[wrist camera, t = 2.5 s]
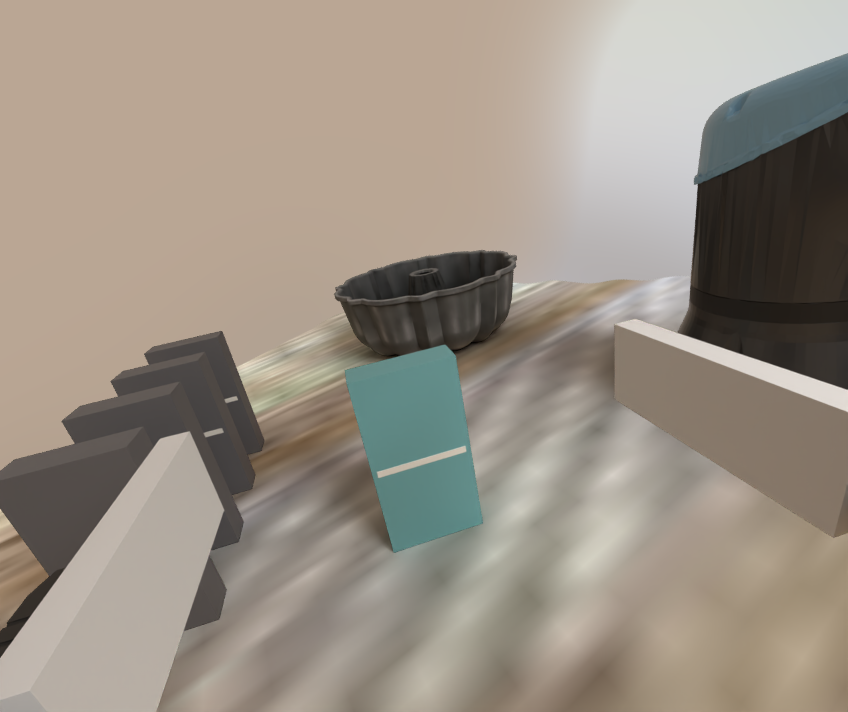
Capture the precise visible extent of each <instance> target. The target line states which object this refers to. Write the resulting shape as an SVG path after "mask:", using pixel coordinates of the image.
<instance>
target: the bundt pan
mask: <svg viewBox="0 0 848 712" xmlns="http://www.w3.org/2000/svg"><path fill="white" fill-rule="evenodd" d="M516 260H517V256H516V255H508V253H507V252H503V251H485V250H479V251H472V252H468V251H466V252H465V251H464V252H452V253H446V254H440V255H435V256H425V257H421V258H418V259H412V260H406V261H401V262H397V263H394V264H390V265H387V266H385V267H382V268H378V269H373V270H370V271H368V272H367V273H364V274H361V275H358V276H355V277H352V278H350V279H348V280H347V281H346V282H345V283H344V284H343V285H340V286H338V287H336V293H335V294H334V295H335V298H336V300H338V301H340V302H341V304H342V307H343V309H344V311H345V313H346V316H347V318H348V320H349V322H350V325H351V327H352V329H353V331H354V333H355V335H356V336H357V338H358V339H359V340H360V341H361V342H362V343H363V344H365V345H366V346H368V347H371V348H372V349H373V350H374V351H376V352H377V353H379V354H381V355H387V356H390V355H395V354H397V355H400V356H402V355H406V354H410V353H414V352H418V351H422V350H426V349H430V348H433V347H437V346H441V345H446V346H447V347H448V348H449V349H450V350H456V349H461V348H463V347H465V346H467V345H468V344H470V343H471V342H479V341H482V340H484V339H486V338H488V337H489V336H490V334H491V333H492V331H493V330H495V329H497V328H498V327H499V326H500V325H501V324H502V323H503V322H504V321H505V319H506V317H507V315H508V313H509V309H510V304H511V300H512V287H513V269H514V268H515V267H516V262H515V261H516Z"/></svg>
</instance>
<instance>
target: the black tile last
mask: <svg viewBox="0 0 848 712" xmlns="http://www.w3.org/2000/svg"><path fill="white" fill-rule="evenodd" d="M202 352H205V353H206V356H207V358H208V361H209V363H210V366H211V368H212V370H213V373H214V375H215V378H216V380H217V383H218V385H219V387H220V390H221V392H222V395H223V397H224V400H225V402H226V404H227V407H228V409H229V412H230V414H231V417H232V419H233V421H234V424H235V426H236V429H237V431H238V434H239V436H240V438H241V441H242V443H243V446H244V448H245V451H246V453H247V454H251V453H255V452H258V451H262V447H263V443H264V438H263V435H262V433H261V430H260V428H259V425H258V423H257V420H256V417H255V415H254V412H253V410H252V407H251V404H250V402H249V399H248V397H247V394H246V392H245V389H244V386H243V384H242V381H241V379H240V376H239V373H238V371H237V368H236V366H235V363H234V361H233V358H232V355H231V353H230V351H229V348H228V345H227V343H226V340H225V337H224V335H223V332H222V331H219V332H215V333H210V334H206V335H202V336H197V337H193V338H189V339H185V340H180V341H176V342H172V343H168V344H163V345H159V346H154V347H152V348H151V349H150V350H148V351H147V352H146V353H145V354H144V355H145V357H146V359H147V361H148V364H149V365H151V364H155V363H159V362H164V361H168V360H172V359H176V358H180V357H185V356H189V355H193V354H197V353H202Z"/></svg>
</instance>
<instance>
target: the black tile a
mask: <svg viewBox="0 0 848 712" xmlns="http://www.w3.org/2000/svg"><path fill="white" fill-rule="evenodd" d="M153 448H154V446H153V444H152V442H151V440H150V438H149V437H148V435H147V433H146V431H145V429H144V427H139V428H135V429H131V430H127V431H124V432H120V433H116V434H112V435H108V436H104V437H100V438H96V439H93V440H89V441H85V442H81V443H77V444H73V445H69V446H65V447H62V448H58V449H54V450H50V451H46V452H42V453H38V454H34V455H31V456H27V457H23V458H19V459H15V460H13V461H12V462H11V463H9V464H8V465H7V466H6V467H4V468H3V469H2V470H1V471H0V509H1V510H2V512H3V513H4V514H5V516H6V517H7V518H8V520H9V521H10V523H11V524H12V525H13V527H14V528H15V529H16V531H17V532H18V534H19V535H20V536H21V538H22V539H23V540H24V542H25V543H26V545H27V546H28V547H29V549H30V550H31V551H32V553H33V554H34V556H35V557H36V558H37V560H38V561H39V562H40V564H41V565H42V566H43V568H44V569H45V571H46V572H47V573H48V575H49V576H51V575H52V574H53V573H54V572H55V571H56V570H59V569H62V568H66V567H67V566H68V564H69V563H70V562H71V560H72V559H73V557H74V556H75V555H76V553H77V552H78V551H79V549H80V548H81V546H82V545H83V544H84V542H85V541H86V540H87V538H88V537H89V536H90V534H91V533H92V531H93V530H94V529H95V527H96V526H97V525H98V523H99V522H100V520H101V519H102V518H103V516H104V515H105V514H106V512H107V511H108V509H109V508H110V507H111V505H112V504H113V503H114V501H115V500H116V498H117V497H118V496H119V494H120V493H121V492H122V490H123V489H124V487H125V486H126V485H127V483H128V482H129V481H130V479H131V478H132V476H133V475H134V474H135V472H136V471H137V470H138V468H139V467H140V466H141V464H142V463H143V461H144V460H145V459H146V457H147V456H148V455H149V453H150V452H151V450H152V449H153ZM226 590H227V589H226V587H225V585H224V583H223V581H222V579H221V578H220V576H219V574H218V572H217V570H216V568H215V566H214V564H213V562H212V560H211V558H210V556H209V557H208V560H207V563H206V566H205V569H204V571H203V574H202V577H201V580H200V583H199V586H198V589H197V592H196V595H195V598H194V601H193V604H192V607H191V610H190V613H189V616H188V619H187V622H186V625H185V628H184V631H185V630H188V629H191V628H194V627H197V626H200V625H203V624H206V623H209V622H212V621H215V620H218V619H219V618H220V614H221V610H222V606H223V602H224V598H225V594H226Z"/></svg>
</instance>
